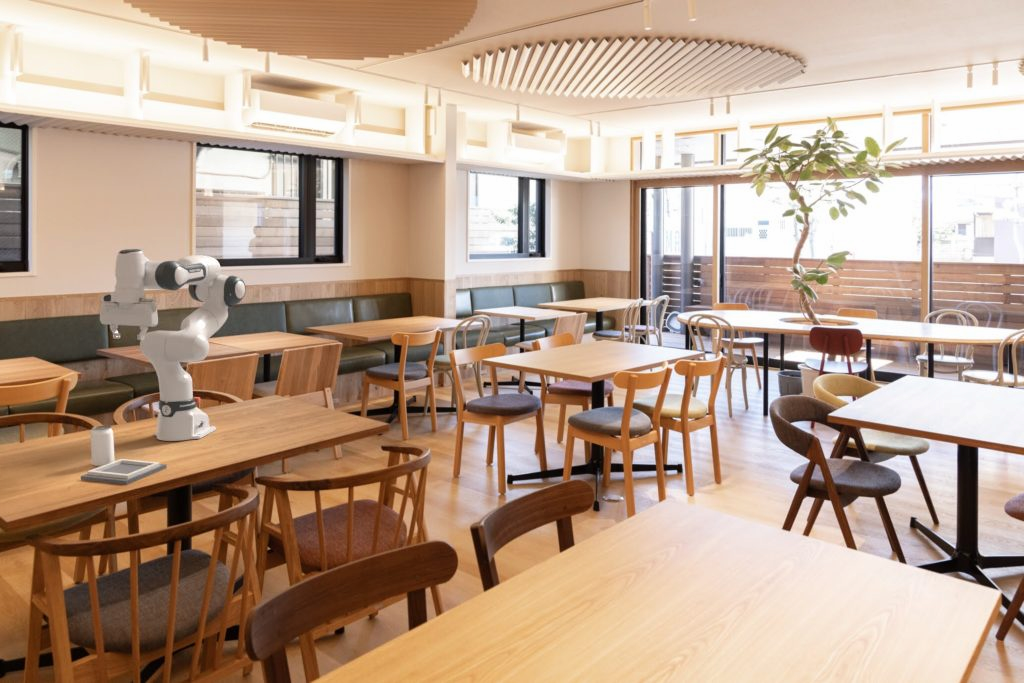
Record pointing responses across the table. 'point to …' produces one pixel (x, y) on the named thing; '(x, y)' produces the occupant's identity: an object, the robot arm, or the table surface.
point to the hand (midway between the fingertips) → (128, 339)
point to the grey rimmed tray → (123, 471)
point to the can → (102, 445)
